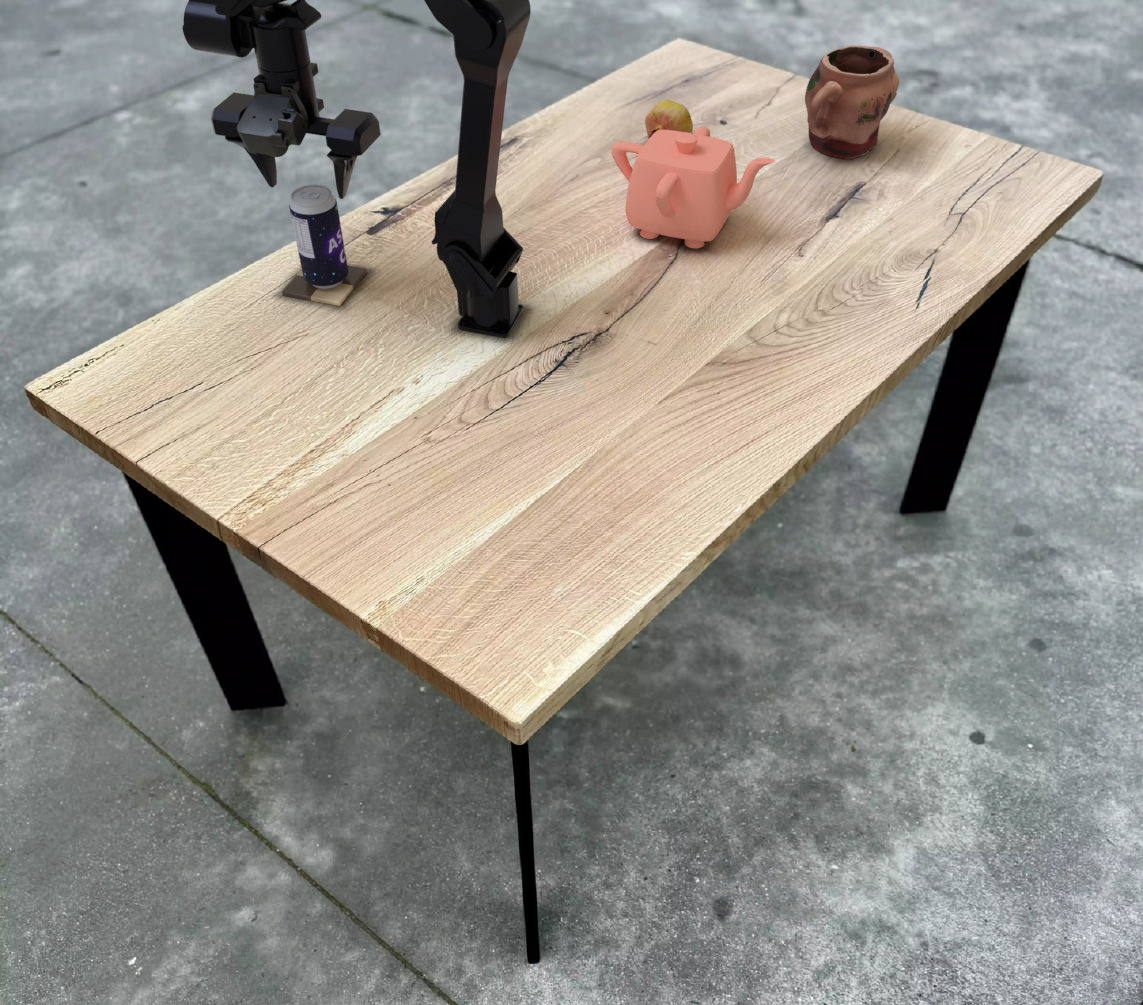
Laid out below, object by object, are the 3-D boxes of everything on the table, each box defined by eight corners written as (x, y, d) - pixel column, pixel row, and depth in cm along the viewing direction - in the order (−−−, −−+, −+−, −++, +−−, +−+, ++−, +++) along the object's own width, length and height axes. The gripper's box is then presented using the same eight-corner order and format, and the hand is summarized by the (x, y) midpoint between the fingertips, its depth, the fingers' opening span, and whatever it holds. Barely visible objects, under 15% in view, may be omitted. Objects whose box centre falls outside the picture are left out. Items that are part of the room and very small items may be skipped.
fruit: (659, 89, 167) (630, 113, 161) (700, 87, 164) (672, 112, 158) (666, 133, 171) (637, 159, 165) (706, 132, 168) (679, 158, 162)
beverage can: (340, 294, 137) (325, 208, 129) (297, 289, 138) (279, 203, 129) (355, 270, 141) (341, 185, 133) (314, 265, 142) (297, 180, 133)
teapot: (603, 212, 152) (605, 123, 143) (701, 188, 157) (709, 100, 148) (661, 273, 142) (667, 180, 132) (764, 245, 147) (777, 153, 137)
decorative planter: (844, 188, 157) (862, 94, 148) (769, 163, 162) (782, 71, 153) (903, 136, 169) (923, 46, 159) (831, 115, 174) (847, 26, 164)
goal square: (367, 272, 142) (366, 268, 141) (339, 306, 136) (339, 302, 136) (311, 262, 143) (310, 258, 143) (282, 295, 138) (281, 291, 138)
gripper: (169, 81, 116) (203, 212, 127) (328, 104, 112) (349, 238, 123) (222, 41, 124) (251, 168, 135) (373, 61, 120) (390, 191, 131)
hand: (307, 191), depth 131 cm, fingers open, 9 cm apart
